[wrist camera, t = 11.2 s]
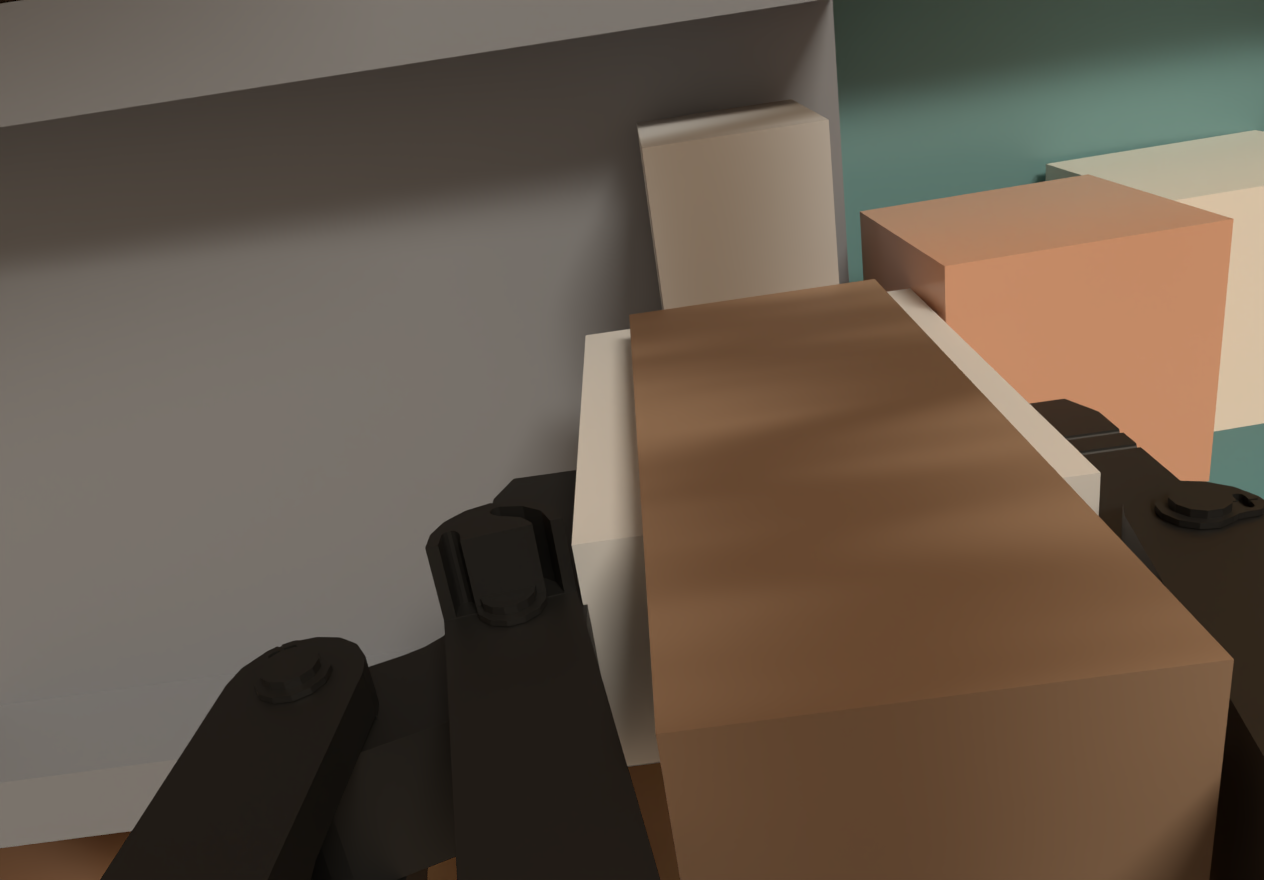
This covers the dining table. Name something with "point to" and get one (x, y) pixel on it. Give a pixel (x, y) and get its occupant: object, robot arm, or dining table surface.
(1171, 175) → the cream cube
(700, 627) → the brown block with tab
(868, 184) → the chute tray
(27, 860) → the dining table surface
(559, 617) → the robot arm
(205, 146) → the slot board
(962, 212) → the peach cube block
